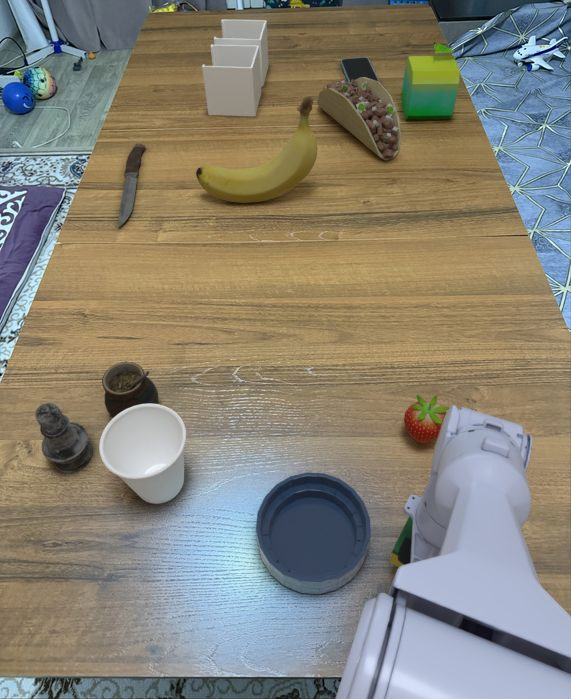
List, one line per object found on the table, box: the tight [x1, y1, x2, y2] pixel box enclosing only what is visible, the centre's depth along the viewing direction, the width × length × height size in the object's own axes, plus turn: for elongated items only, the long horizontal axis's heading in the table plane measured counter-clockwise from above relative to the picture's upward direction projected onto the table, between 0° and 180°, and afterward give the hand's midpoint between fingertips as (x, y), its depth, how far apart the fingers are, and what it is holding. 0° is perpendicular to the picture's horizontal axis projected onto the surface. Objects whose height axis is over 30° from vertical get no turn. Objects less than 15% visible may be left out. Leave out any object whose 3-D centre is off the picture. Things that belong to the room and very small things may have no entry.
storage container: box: [201, 18, 270, 117], centre depth 136 cm, size 25×11×11 cm, turn 174°
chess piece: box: [34, 402, 94, 474], centre depth 73 cm, size 6×6×12 cm
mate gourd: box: [101, 360, 159, 419], centre depth 78 cm, size 7×8×10 cm
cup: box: [98, 403, 187, 505], centre depth 70 cm, size 10×10×11 cm
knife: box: [117, 142, 146, 228], centre depth 115 cm, size 28×3×1 cm, turn 4°
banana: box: [195, 95, 318, 204], centre depth 105 cm, size 23×6×20 cm, turn 93°
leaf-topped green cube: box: [401, 41, 460, 121], centre depth 126 cm, size 11×10×15 cm
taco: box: [316, 77, 402, 162], centre depth 123 cm, size 10×27×10 cm, turn 29°
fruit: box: [403, 394, 450, 444], centre depth 75 cm, size 5×5×8 cm
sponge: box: [388, 516, 413, 568], centre depth 62 cm, size 7×4×4 cm, turn 59°
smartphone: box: [340, 56, 380, 82], centre depth 143 cm, size 7×1×15 cm
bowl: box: [255, 472, 371, 595], centre depth 68 cm, size 13×13×4 cm
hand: (429, 555), depth 62 cm, fingers closed on sponge, 4 cm apart
